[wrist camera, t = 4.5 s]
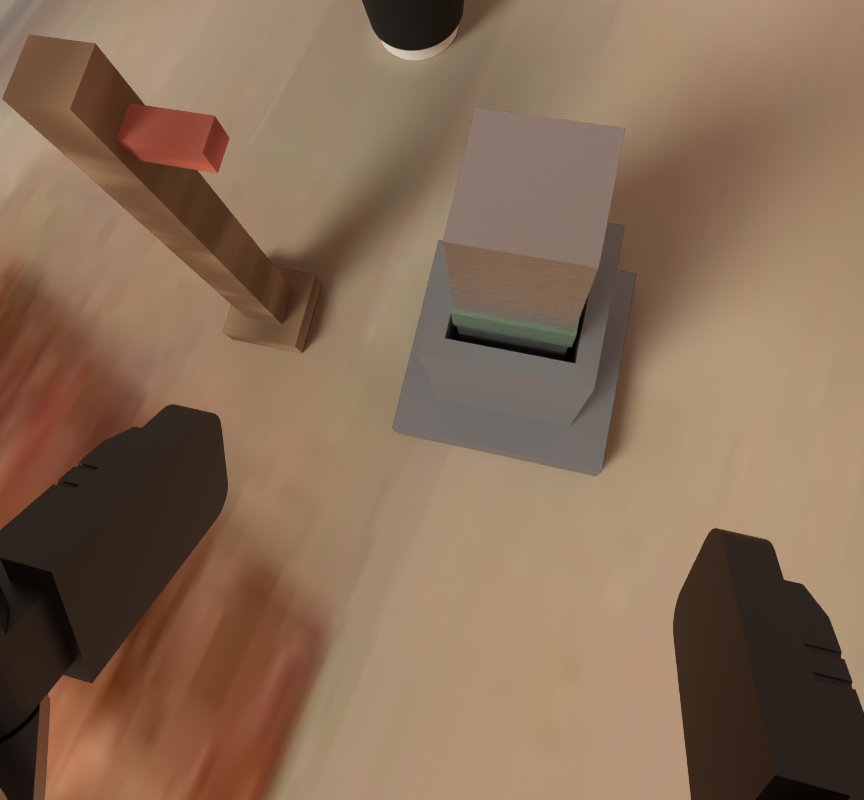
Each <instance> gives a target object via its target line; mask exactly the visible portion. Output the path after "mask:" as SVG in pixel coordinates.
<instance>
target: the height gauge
mask: <svg viewBox="0 0 864 800" xmlns="http://www.w3.org/2000/svg"><path fill="white" fill-rule="evenodd" d="M2 99H3V100H4V101H5V102H6V103H7V104H8V105H10V106H11V107H12V108H13V109H14V110H15V111H16V112H17V113H19V114H20V115H21V116H22V117H23V118H24V119H25V120H26V121H27V122H29V123H30V124H31V125H32V126H33V127H34V128H35V129H36V130H37V131H39V132H40V133H41V134H42V135H43V136H44V137H45V138H46V139H48V140H49V141H50V142H51V143H52V144H53V145H54V146H55V147H56V148H58V149H59V150H60V151H61V152H62V153H63V154H64V155H65V156H66V157H68V158H69V159H70V160H71V161H72V162H73V163H74V164H75V165H76V166H78V167H79V168H80V169H81V170H82V171H83V172H84V173H85V174H87V175H88V176H89V177H90V178H91V179H92V180H93V181H94V182H95V183H97V184H98V185H99V186H100V187H101V188H102V189H103V190H104V191H105V192H107V193H108V194H109V195H110V196H111V197H112V198H113V199H114V200H116V201H117V202H118V203H119V204H120V205H121V206H122V207H123V208H124V209H126V210H127V211H128V212H129V213H130V214H131V215H132V216H133V217H134V218H136V219H137V220H138V221H139V222H140V223H141V224H142V225H143V226H145V227H146V228H147V229H148V230H149V231H150V232H151V233H152V234H153V235H155V236H156V237H157V238H158V239H159V240H160V241H161V242H162V243H163V244H165V245H166V246H167V247H168V248H169V249H170V250H171V251H172V252H174V253H175V254H176V255H177V256H178V257H179V258H180V259H181V260H182V261H184V262H185V263H186V264H187V265H188V266H189V267H190V268H191V269H192V270H194V271H195V272H196V273H197V274H198V275H199V276H200V277H201V278H203V279H204V280H205V281H206V282H207V283H208V284H209V285H210V286H211V287H213V288H214V289H215V290H216V291H217V292H218V293H219V294H220V295H221V296H223V297H224V298H225V299H226V300H227V301H228V302H229V303H230V304H231V307H230V310H229V313H228V316H227V320H226V323H225V326H224V329H223V332H224V333H225V334H226V335H227V336H229V337H230V338H231V339H234V340H239V341H244V342H249V343H254V344H259V345H264V346H269V347H274V348H278V349H283V350H288V351H293V352H298V353H302V351H303V348H304V344H305V341H306V337H307V334H308V330H309V327H310V323H311V320H312V316H313V313H314V309H315V306H316V302H317V298H318V295H319V291H320V288H321V282H320V281H319V279H318V278H317V276H316V275H315V274H309V273H304V272H298V271H293V270H288V269H282V268H277V267H274V265H273V264H272V263H271V262H270V260H269V259H268V258H267V257H266V255H265V254H264V253H263V252H262V250H261V249H260V248H259V247H258V245H257V244H256V243H255V242H254V240H253V239H252V238H251V237H250V235H249V234H248V233H247V232H246V230H245V229H244V228H243V227H242V225H241V224H240V223H239V222H238V220H237V219H236V218H235V217H234V215H233V214H232V213H231V212H230V211H229V209H228V208H227V207H226V206H225V204H224V203H223V202H222V201H221V199H220V198H219V197H218V196H217V194H216V193H215V192H214V191H213V189H212V188H211V187H210V186H209V184H208V183H207V182H206V181H205V179H204V178H203V177H202V176H201V174H200V173H199V172H198V171H197V170H200V171H206V172H212V173H218V171H219V168H220V165H221V162H222V159H223V156H224V153H225V150H226V147H227V144H228V141H229V137H228V135H227V134H226V132H225V130H224V129H223V127H222V126H221V124H220V123H219V121H218V120H217V118H216V117H215V116H212V115H205V114H199V113H192V112H185V111H178V110H172V109H165V108H158V107H151V106H145V105H144V103H143V102H142V101H141V100H140V98H139V97H138V96H137V95H136V93H135V92H134V91H133V90H132V88H131V87H130V86H129V85H128V83H127V82H126V81H125V80H124V78H123V77H122V76H121V75H120V73H119V72H118V71H117V70H116V69H115V67H114V66H113V65H112V64H111V62H110V61H109V60H108V59H107V57H106V56H105V55H104V54H103V52H102V51H101V50H100V49H99V47H98V46H97V45H96V44H95V43H88V42H80V41H73V40H65V39H58V38H50V37H43V36H36V35H29V36H28V38H27V40H26V43H25V45H24V48H23V50H22V52H21V55H20V57H19V60H18V62H17V64H16V67H15V69H14V72H13V74H12V76H11V79H10V81H9V84H8V86H7V88H6V91H5V93H4V96H3V98H2Z"/></svg>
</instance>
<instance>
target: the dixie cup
mask: <svg viewBox="0 0 864 800" xmlns="http://www.w3.org/2000/svg"><path fill="white" fill-rule="evenodd" d="M362 2H363V4H364V7H365V10H366V12H367V15H368V18H369V20H370V23H371V26H372V28H373V30H374V32H375V33H376V35H377V36H378V37H379V38H380V39H381V42H382V44H383V45H384V47H385V48H386V49H387V50H388V51H389V52H390V53H392V54H393V55H395V56H397V57H399V58H402V59H406V60H424V59H428V58H431V57H434V56H436V55H438V54H439V53H441V52H443V51H444V50H445V49H446V48H447V47H448V46H449V45H450V44H451V43H452V41H453V40H454V38H455V36H456V34H457V31H458V25H459V23H460V20H461V17H462V14H463V4H464V0H362Z"/></svg>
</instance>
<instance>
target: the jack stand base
mask: <svg viewBox="0 0 864 800" xmlns="http://www.w3.org/2000/svg"><path fill="white" fill-rule="evenodd" d="M623 232H624V225H617V224H611V223H607V227H606V232H605V237H604V242H603V248H602V253H601V258H600V263H599V268H598V271H597V273H596V276H595V279H594V281H593V284H592V286H591V289H590V292H589V294H588V297H587V299H586V302H585V304H584V307H583V310H582V312H581V315H580V318H579V323H578V329H577V334H576V338H575V340H574V342H573V345H572V347H568V348H567V351H566V354H565V356H564V359H563V361H560V360H554V359H549V358H544V357H539V356H534V355H529V354H523V353H518V352H513V351H508V350H503V349H497V348H492V347H487V346H482V345H477V344H471V343H466V342H461V341H459V335H458V329H457V326H456V325H453V322H452V316H451V310H452V306H453V300H452V294H451V288H450V282H449V276H448V270H447V265H446V259H445V253H444V247H443V241H442V240H439V241H438V245H437V249H436V253H435V257H434V261H433V265H432V269H431V273H430V277H429V281H428V285H427V289H426V293H425V297H424V301H423V306H422V310H421V314H420V318H419V322H418V326H417V330H416V334H415V338H414V342H413V346H412V350H411V354H410V358H409V362H408V366H407V370H406V374H405V378H404V382H403V386H402V390H401V394H400V398H399V402H398V406H397V410H396V414H395V418H394V423H393V427H392V428H393V429H394V430H395V431H396V432H397V433H400V434H405V435H409V436H414V437H419V438H423V439H428V440H432V441H437V442H442V443H446V444H451V445H455V446H460V447H465V448H469V449H474V450H479V451H483V452H488V453H492V454H497V455H502V456H506V457H511V458H515V459H520V460H525V461H529V462H534V463H538V464H543V465H548V466H552V467H557V468H561V469H566V470H571V471H575V472H580V473H584V474H589V475H594V476H597V475H598V474H600V473H601V470H602V465H603V459H604V454H605V448H606V442H607V437H608V431H609V426H610V420H611V414H612V409H613V403H614V397H615V392H616V386H617V381H618V375H619V369H620V364H621V358H622V353H623V347H624V341H625V336H626V330H627V324H628V319H629V313H630V308H631V302H632V296H633V291H634V285H635V280H636V273H630V272H624V271H618V270H617V264H618V259H619V253H620V248H621V243H622V237H623Z"/></svg>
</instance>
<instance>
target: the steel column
mask: <svg viewBox="0 0 864 800" xmlns="http://www.w3.org/2000/svg"><path fill="white" fill-rule="evenodd" d="M624 133H625V128H621V127H614V126H607V125H599V124H592V123H585V122H577V121H570V120H563V119H556V118H548V117H541V116H534V115H527V114H519V113H512V112H505V111H498V110H490V109H483V108H475V112H474V116H473V120H472V124H471V128H470V132H469V136H468V140H467V144H466V148H465V152H464V156H463V160H462V164H461V169H460V173H459V177H458V181H457V185H456V189H455V193H454V197H453V201H452V205H451V209H450V213H449V217H448V221H447V225H446V229H445V233H444V237H443V247H444V253H445V259H446V265H447V270H448V276H449V282H450V288H451V294H452V300H453V306H452V310H451V316H452V322H453V325H456V326H457V329H458V335H459V341H461V342H466V343H471V344H477V345H482V346H487V347H492V348H497V349H503V350H508V351H513V352H518V353H523V354H529V355H534V356H539V357H544V358H549V359H554V360H560V361H563V359H564V356H565V354H566V351H567V348H568V347H572V345H573V342H574V340H575V338H576V334H577V329H578V323H579V318H580V315H581V312H582V310H583V307H584V304H585V302H586V299H587V297H588V294H589V292H590V289H591V286H592V284H593V281H594V279H595V276H596V273H597V271H598V268H599V263H600V258H601V253H602V248H603V242H604V237H605V232H606V227H607V222H608V216H609V211H610V206H611V201H612V195H613V190H614V185H615V180H616V174H617V169H618V164H619V159H620V154H621V148H622V143H623V138H624Z"/></svg>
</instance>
